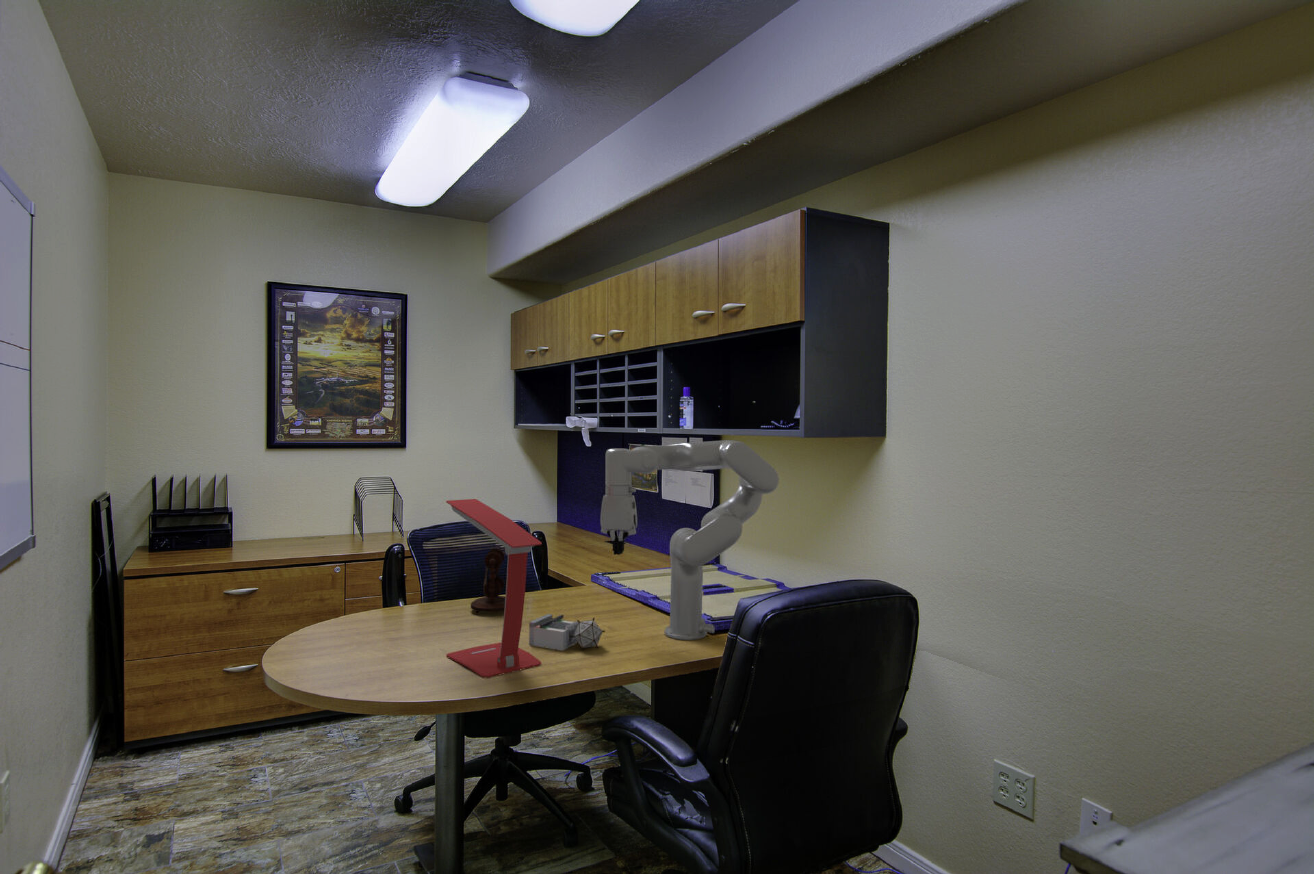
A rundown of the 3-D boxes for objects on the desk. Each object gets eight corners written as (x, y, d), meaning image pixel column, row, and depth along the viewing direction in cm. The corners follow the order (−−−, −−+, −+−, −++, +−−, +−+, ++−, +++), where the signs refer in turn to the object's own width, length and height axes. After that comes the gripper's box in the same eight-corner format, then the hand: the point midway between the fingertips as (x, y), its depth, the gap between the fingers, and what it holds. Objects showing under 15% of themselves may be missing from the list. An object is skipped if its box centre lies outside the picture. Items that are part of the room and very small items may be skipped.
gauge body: (580, 641, 203) (580, 618, 203) (562, 650, 194) (563, 627, 194) (547, 635, 207) (547, 614, 207) (528, 644, 198) (529, 622, 198)
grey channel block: (584, 636, 203) (584, 618, 203) (563, 648, 193) (563, 628, 193) (560, 632, 206) (561, 614, 206) (538, 644, 196) (539, 624, 196)
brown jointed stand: (474, 604, 240) (475, 546, 239) (518, 604, 241) (519, 546, 241) (467, 616, 225) (468, 554, 225) (514, 616, 227) (515, 554, 226)
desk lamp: (487, 633, 208) (489, 498, 207) (557, 670, 179) (560, 512, 178) (428, 644, 197) (430, 501, 196) (492, 686, 167) (494, 517, 166)
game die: (588, 659, 199) (601, 625, 204) (601, 656, 192) (614, 622, 197) (561, 645, 196) (574, 612, 201) (573, 642, 189) (586, 608, 194)
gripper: (647, 490, 206) (646, 553, 207) (600, 488, 211) (600, 550, 212) (637, 493, 199) (637, 558, 200) (589, 491, 204) (589, 554, 205)
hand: (618, 553), depth 206 cm, fingers closed
